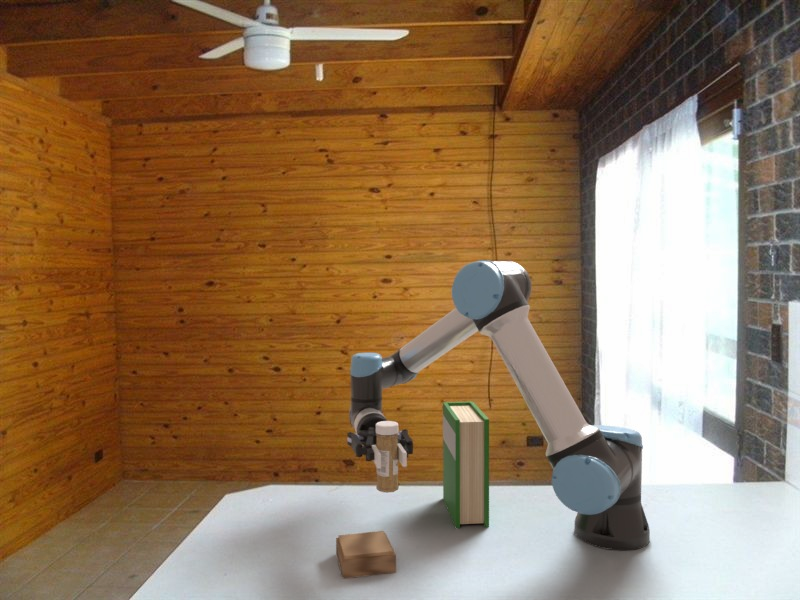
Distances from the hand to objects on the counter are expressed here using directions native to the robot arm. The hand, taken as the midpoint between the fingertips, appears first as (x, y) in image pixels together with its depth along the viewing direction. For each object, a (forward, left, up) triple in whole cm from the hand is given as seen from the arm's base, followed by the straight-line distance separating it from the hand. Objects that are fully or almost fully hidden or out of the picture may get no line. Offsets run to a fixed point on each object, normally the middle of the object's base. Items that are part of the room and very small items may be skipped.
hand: (392, 460), depth 121 cm
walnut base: (+5, -2, -20) cm, 21 cm away
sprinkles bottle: (0, -5, -8) cm, 9 cm away
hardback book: (-22, -21, -21) cm, 37 cm away
